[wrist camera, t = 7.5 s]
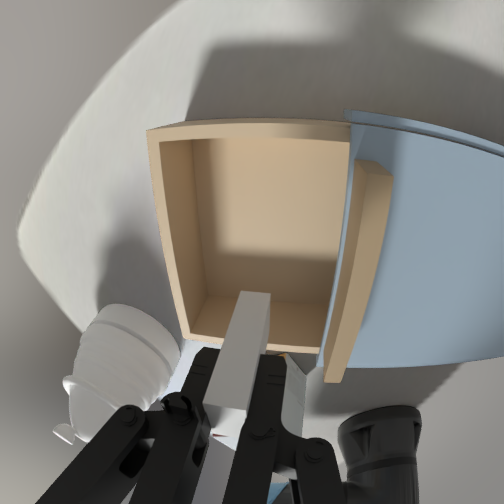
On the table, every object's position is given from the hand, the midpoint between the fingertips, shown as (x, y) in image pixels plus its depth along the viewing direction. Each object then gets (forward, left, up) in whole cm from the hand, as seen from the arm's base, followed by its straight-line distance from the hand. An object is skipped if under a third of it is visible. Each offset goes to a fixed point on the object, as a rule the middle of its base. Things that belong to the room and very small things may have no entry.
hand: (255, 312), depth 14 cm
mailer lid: (0, -15, -7) cm, 17 cm away
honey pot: (-18, +18, -11) cm, 27 cm away
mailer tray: (0, -4, -10) cm, 11 cm away
